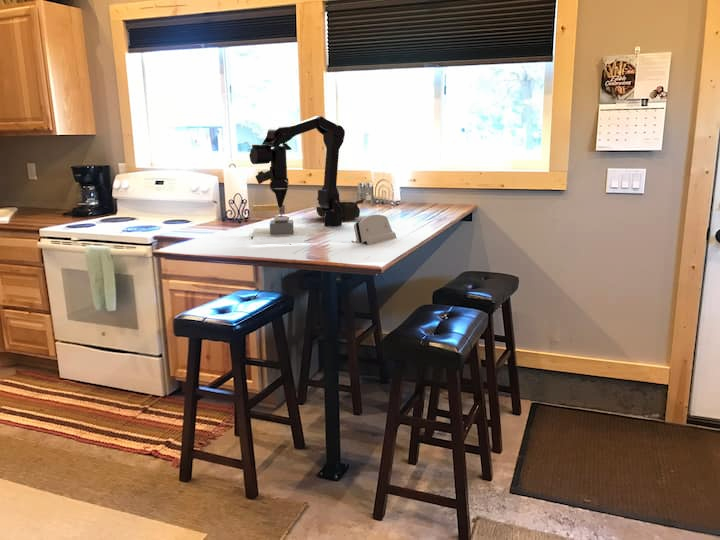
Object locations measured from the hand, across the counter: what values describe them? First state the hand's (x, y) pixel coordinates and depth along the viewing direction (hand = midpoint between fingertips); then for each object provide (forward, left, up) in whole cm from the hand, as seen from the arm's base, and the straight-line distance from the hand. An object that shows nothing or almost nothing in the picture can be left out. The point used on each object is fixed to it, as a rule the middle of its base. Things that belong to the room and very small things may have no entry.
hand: (280, 205), depth 221 cm
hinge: (-33, +16, -11) cm, 38 cm away
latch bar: (+5, -9, -3) cm, 11 cm away
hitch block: (-1, -2, -11) cm, 11 cm away
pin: (0, 0, -10) cm, 10 cm away
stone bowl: (-23, -37, -11) cm, 45 cm away
